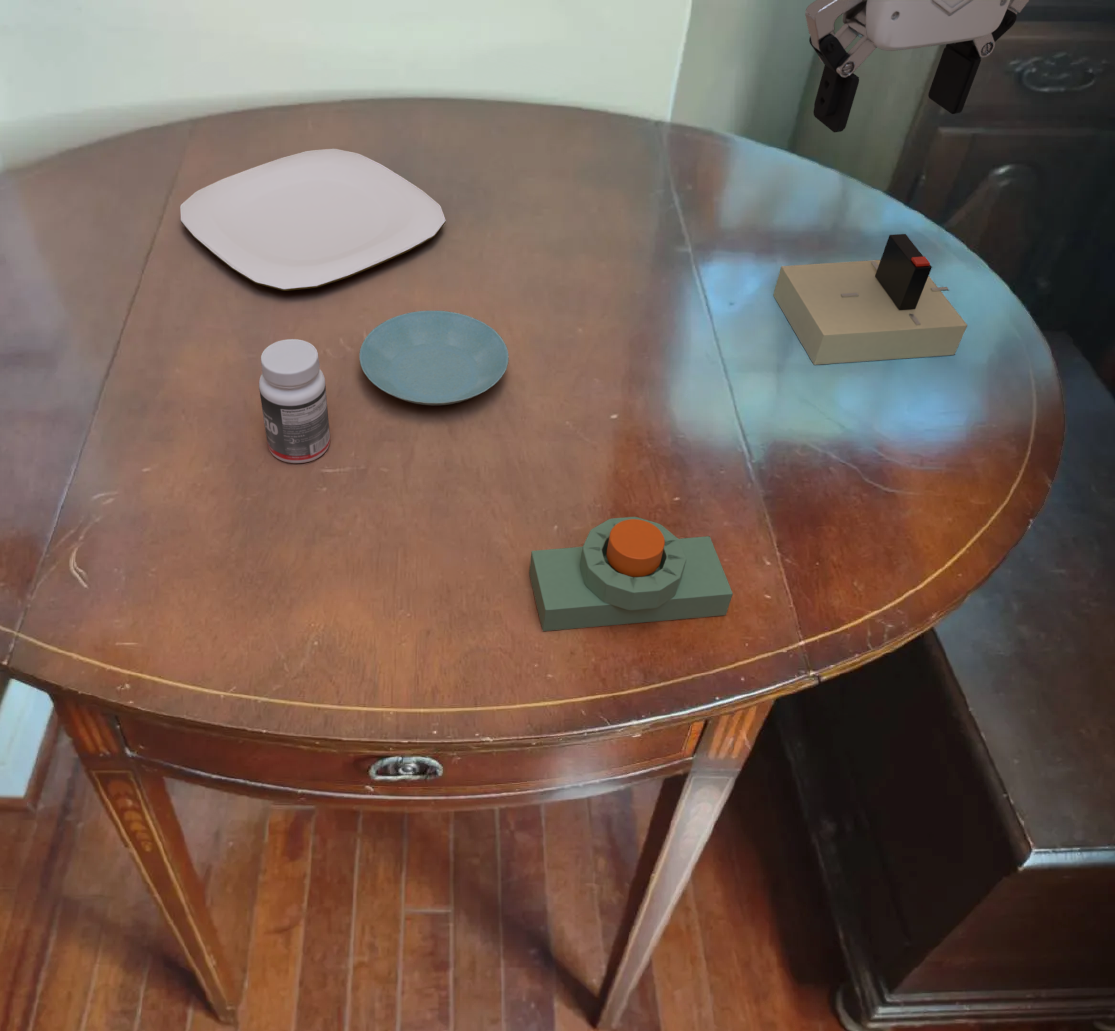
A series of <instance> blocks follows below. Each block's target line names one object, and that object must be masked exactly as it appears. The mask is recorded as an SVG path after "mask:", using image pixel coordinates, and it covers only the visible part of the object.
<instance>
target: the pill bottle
mask: <svg viewBox="0 0 1115 1031" xmlns="http://www.w3.org/2000/svg"><path fill="white" fill-rule="evenodd" d="M260 355H261V356H260V364H261V365H260V366H261V374H260V378H259V381H258V382H259V383H258V390H259V397H260V398H259V399H260V402H261V403H260V404H261V410H262V411H261V412H262V416H263V418H262V419H263V424H264V429H265V438H266V444H267V447H268V450H269V452H270V453H271V455H272V456H273V457H275V458H276V459H277V460H279V461H282V462H285V463H289V464H303V463H304V464H305V463H309V462H312V461H315V460H317V459H318V458H320V457H321V456H323V455H324V454H325V453H326V452H327V450H328V449H329V447H330V444H331V432H330V422H329V412H328V398H327V386H326V385H327V384H326V378H325V375H324V373H323V371H322V369H321V364H320V358H319V353H318V350H317V348H316V347H315V346H314V345H313V344H312V343H311V342H309V341H307V340H303V339H297V338H286V339H281V340H277V341H275V342H273V343H271V344H269V345H268V346H267V347H265V348H264V349H263V351H262V353H261V354H260Z"/></svg>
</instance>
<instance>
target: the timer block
mask: <svg viewBox="0 0 1115 1031" xmlns="http://www.w3.org/2000/svg"><path fill="white" fill-rule="evenodd" d="M629 519H638V520H643V521H647V522H649V523H651V524H653V525H654V526H656V527H657V528H658V529H659V530H660V531H661V533H662V534H663V536H664V540H665V545H664V549H663V554H662V558H661V562H660V565H659V567H658V568H657V569H656V570H655V571H654V572H653V573H651V574H649V575H647V576H643V577H631V576H627V575H624V574H621V573H619V572H618V571H616V570H615V569H614V568H613V567H612V566H611V565H610V563H609V562H608V559H607V554H606V553H607V547H608V541H609V536H610V532H611V530H612V528H613V527H614V526H615V525H616V524H618V523H619V522H621V521H624V520H629ZM712 540H713V539H712V538H711V536H710V535H708V536H707V535H706V536H696V537H695V536H693V537H683V538H682V537H681V538H678V537H677V536H676V535H674V534H673V533H672V532H671V531H669V529H667V528H666V527H665V526H663V525H662V524H661V523H659V522H655V521H653V520H649V519H646V518H641V517H638V516H625V517H614V518H613V517H612V518H608V519H607V520H605V521H603V522H602V523H600V524H598V525H596V526H594V527H593V528H591V529H590V530H589V531H588V534H587V536H586V538H585V541H584V543H583V545H582V546H574V547H573V546H572V547H562V548H561V547H560V548H549V549H537V550H531V551H530V553H531V554H530V561H529V569H528V570H529V572H528V573H529V574H528V575H529V579H530V583H531V586H532V591H533V595H534V600H535V604H536V608H537V612H538V617H539V621H540V625H541V626H540V627H541V629H542V630H541V631H542V632H549V631H550V632H551V631H561V630H563V631H564V630H575V629H584V628H585V629H586V628H597V627H607V626H608V627H610V626H621V625H631V624H642V623H643V624H644V623H653V622H665V621H666V622H667V621H674V620H675V621H676V620H677V621H678V620H687V619H689V620H690V619H698V618H699V619H700V618H710V617H721V616H727V613H728V610H729V607H730V604H731V601H732V598H733V595H734V593H733V591H732V588H731V584H730V583H729V580H728V578H727V575H726V573H725V571H724V568H723V565H722V563H721V560H720V558H719V556H718V553H717V550H716V549H715V545H714V542H713V541H712Z"/></svg>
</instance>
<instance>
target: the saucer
mask: <svg viewBox="0 0 1115 1031" xmlns="http://www.w3.org/2000/svg"><path fill="white" fill-rule="evenodd" d="M358 356H359V365H360V367H361V369H362V371H363V373H364V375H365V376H366V378H367V379H368V380H369V381H370V382H371V383H372V384H373V385H374V386H376V387H377V388H378V389H380V390H381V391H383V392H384V393H386V394H388V395H390V396H392V397H394V398H396V399H398V400H402V401H405V402H408V403H411V404H416V405H423V406H446V405H453V404H459V403H461V402H465V401H467V400H471V399H473V398H475V397H477V396H479V395H481V394H483V393H484V392H486V391H488V390H489V389H491V388H492V387H493V386H495V385H496V384H497V383H498V382H499V381H500V380H501V379H502V377H503V376H504V374H505V373H506V372H507V369H508V366H509V361H510V360H509V358H510V357H509V349H508V347H507V344H506V343H505V341H504V339H503V338H502V336H501V335H500V334H499V333H498V332H497V331H496V330H495V329H494V328H493V327H492V326H489V325H488V324H487V323H485V322H483V321H482V320H479V319H477V318H475V317H472V316H471V315H470V316H469V315H467V314H463V313H458V312H454V311H447V310H418V311H411V312H406V313H403V314H399V315H397V316H393V317H391V318H389V319H387V320H385V321H383V322H381V323H380V324H378V325H376V327H374V328H373V329H372V330H371V331H370V332H369V333H368V334H367V335H366V337H365V338H364V340H363V342H362V344H361V346H360V348H359V355H358Z"/></svg>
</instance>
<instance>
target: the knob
mask: <svg viewBox="0 0 1115 1031" xmlns="http://www.w3.org/2000/svg"><path fill="white" fill-rule="evenodd" d="M879 260H880V263H879V266H878V269H877V271H876V274H875V277H876V279H877V280H878V281H879V283H880V284H881V286H882V287H883V288H884V290H885V291H886V292H887V294H888V295H889V297H890V298H891V299H892V301H893V302H894V304H895V305H896V306H897V308H898V309H899V310H909V309H916V306H917V304H918V301H919V299H920V296H921V294H922V291H923V289H924V286H925V284H926V281H927V279H928V276H929V277H930V273H931V272H932V268H933V266H932V265H931V262H930V261H929V260H928V258H927V257H926V256H924V255H923V254H922V252H921V251H920V250H919V249H918V248H917V247H916V245H915V244H914V243H913V241H912V240H911V238H909V236H908V235H907V233H897V234H896V233H895V234H889V235H888V237H887V241H886V243H885V247H884V249H883V252H882V255H881V257H880V259H879Z"/></svg>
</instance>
